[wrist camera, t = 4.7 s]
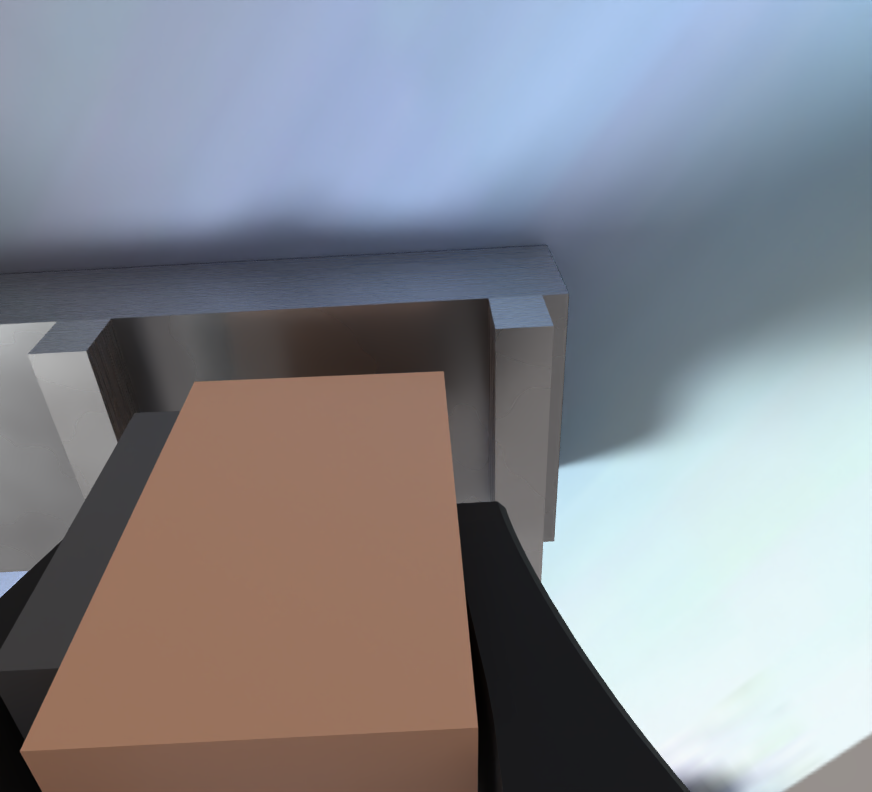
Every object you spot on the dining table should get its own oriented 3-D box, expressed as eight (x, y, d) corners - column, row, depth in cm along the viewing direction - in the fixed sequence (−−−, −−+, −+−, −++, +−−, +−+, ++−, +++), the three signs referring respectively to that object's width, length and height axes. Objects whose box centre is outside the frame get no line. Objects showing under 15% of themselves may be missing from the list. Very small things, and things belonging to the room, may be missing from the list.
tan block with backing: (448, 552, 12) (475, 935, 7) (200, 564, 12) (73, 959, 7) (443, 371, 10) (478, 727, 6) (151, 383, 10) (-61, 755, 6)
